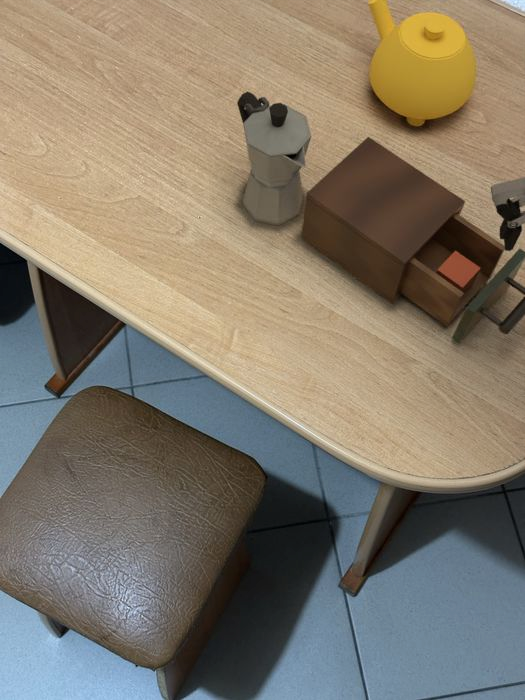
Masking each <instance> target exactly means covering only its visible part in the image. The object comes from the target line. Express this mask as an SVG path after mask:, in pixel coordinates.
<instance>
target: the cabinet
mask: <svg viewBox="0 0 525 700" xmlns="http://www.w3.org/2000/svg"><path fill="white" fill-rule="evenodd" d="M304 203H305V204H304V211H303V221H302V229H301V239H302V240H304V241H305V242H307V243H308V244H310V245H311V246H312V247H314V248H315V249H316V250H318V251H319V252H320V253H322V254H323V255H325V256H326V257H328V258H329V259H330V260H332V261H333V262H334V263H336V264H337V265H338V266H340V267H341V268H343V269H344V270H345V271H346V272H348V273H349V274H351V275H352V276H353V277H355V278H356V279H358V280H359V281H360V282H362V283H363V284H364V285H366V287H368V288H370V289H371V290H372V291H374V292H375V293H376V294H378V295H379V296H381V297H382V298H383V299H384V300H386V301H388V302H389V303H390V304H391V305H393V304H394V303H395V302H396V301H397V299H399V298H400V296H401V295H403V294H402V293H401V292H399V289H400V286H401V283H402V280H403V277H404V274H405V271H406V268H407V265H408V263H409V261H410V260H411V259H412V258H413V257H414V256H415V255H416V254H417V253H418V252H419V251H420V250H421V249H422V248H423V247H424V246H425V245H426V244H427V243H428V242H429V241H430V240H431V239H432V238H433V237H434V236H435V235H436V234H437V233H438V231H439V230H440V229H441V228H442V227H443V226H444V225H445V224H446V223H447V222H448V221H449V220H450V219H451V218H452V217H453V216H454V215H455V214H456V213H457V214H458V215H460V216H461V214H462V211H463V209H464V207H465V206H464V205H465V203H466V201H465V199H463V198H461V197H460V196H458V195H457V194H455V193H454V192H452V191H450V190H449V189H447V188H446V187H445V186H443V185H442V184H440V183H438V181H436V180H434V178H432V177H430V176H428V175H427V174H425V173H424V172H422V171H421V170H420V169H418V168H416V167H415V166H413V165H412V164H411V163H409V162H407V161H405V159H403V158H401V157H400V156H398V155H397V154H396V153H394V152H393V151H390V150H389V149H388V148H386V147H385V146H384V145H382V144H381V143H379V142H377V141H376V140H374V139H373V138H372V137H370V136H367V137H366V138H365V139H364V140H362V142H361V143H359V144H358V145H357V146H356V147H355V148H354V149H353V150H352V151H351V152H350V153H349V154H348V155H347V156H346V157H344V158H343V159H342V160H341V161H340V162H339V163H338V164H337V165H336V166H334V167H333V168H332V169H331V170H330V171H329V172H328V173H326V175H325V176H323V177H322V178H321V179H320V180H319V181H318V182H317V183H316V184H314V186H313V187H312V188H311V189H309V190H308V191H307V192H306V197H305V202H304Z"/></svg>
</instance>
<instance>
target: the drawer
mask: <svg viewBox="0 0 525 700" xmlns="http://www.w3.org/2000/svg"><path fill="white" fill-rule="evenodd" d="M454 251H457V252H458V253H460V254H461V255H463V256H464V257H466V258H467V259H468V260H470V261H471V262H473V263H474V264H476V265H477V266H479V267H480V268H481V269H480V271H479V273H478V275H477V277H476V279H475V281H474V284H473V285H472V286H471V287H470V288H469V290H468V291H467V292H466V293H465V294H464V293H463V292H462V291H460V290H459V289H458V288H456V287H455V286H453V285H452V284H450V283H449V282H448V281H446V280H445V279H443V278H442V277H441V276H439V275H438V274H436V272H437V269H438V268H439V267H440V266H441V265H442V264H443V263H444V262H445V261H446V260H447V259H448V258H449V257H450V256H451V255H452V253H453V252H454ZM504 252H505V244H504V243H501V242H500V241H498V240H497V239H495V238H494V237H492V236H491V235H489V234H488V233H486V232H485V231H484V230H483V229H481V228H479V227H478V226H476V225H474V224H473V223H472V222H470V221H468V220H467V219H465V218H464V217H463V216H461V214H460V215H458V214H457V213H456V214H455V215H454V216H453V217H452V218H451V219H450V220H449V221H448V222H447V223H446V224H445V225H444V226H443V227H442V228H441V229H440V230H439V231H438V233H437V234H436V235H435V236H434V237H433V238H432V239H431V240H430V241H429V242H428V243H427V244H426V245H425V246H424V247H423V248H422V249H421V250H420V251H419V252H418V253H417V254H416V255H415V256H414V257H413V258H412V259H411V260H410V261H409V263H408V265H407V268H406V271H405V274H404V277H403V280H402V283H401V286H400V289H399V292H401V293H402V294H401V295H403V296H404V297H406V298H408V299H409V300H411V301H412V302H413V303H414V304H416V305H417V306H418V307H420V308H421V309H423V310H424V311H425V312H427V313H428V314H429V315H431V316H432V317H434V318H435V319H437V321H439V322H440V323H442V324H443V325H445V326H446V327H448V326H449V325H450V324H451V323H452V322H453V321H454V319H456V317H457V316H458V315H459V314H460V313H461V312H462V310H464V308H465V307H466V308H465V310H464V312H463V313H462V316H461V318H460V321H459V322H458V325H457V327H456V329H455V331H454V333H453V334H452V337H451V339H452V340H454V341H455V342H457V343H458V344H461V342H462V341H464V339H465V338H466V337H467V336H468V335H469V333H470V332H471V331H472V330H473V329H474V328H475V326H476V325H477V324H478V323H479V322H480V321H481V320H482V319H483V318H486V319H488V320H489V321H490V322H492V323H493V324H495V325H496V326H497V328H498V331H499V332H500V333H501V334H504V335H509V334H510V333H511V332H512V330H513V329H514V328H515V327H516V326H517V325H518V323H519V322H520V321H521V320H522V319H523V318H524V317H525V286H523V285H522V284H521V283H519V282H518V281H516V280H515V278H516V276H517V274H518V272H519V270H520V269H521V267H522V265H523V263H524V261H525V250H524V249H522V248H518V249H517V250H516V251H515V252H514V254H513V255H512V256H511V257H510V258H509V259H508V260H507V261H506V263H505V264H504V265H503V266H502V267H501V268H500V270H498V272H497V273H496V274H495V275H494V276H493V274H494V273H495V270H496V268H497V266H498V264H499V262H500V260H501V258H502V256H503V254H504ZM492 276H493V277H492ZM487 282H488V283H487ZM510 287H512V288H513V289H515V290H516V291H518V292H520V293H521V294H522V295H523V298H521V300H520V301H519V302H518V304H516V305H515V307H514V308H513V309H512V310H511V311H510V312H509V314H508V315H507V316H506V317H505V318H504V319H503V320H501V319H500V318H498V317H497V316H496V315H494V314H493V313H492V312H490V310H491V309H492V308H493V306H494V305H495V304H496V303H497V302H498V301H499V300H500V298H501V297H502V296H503V295H504V293H506V292H507V290H508V289H509V288H510ZM481 289H482V290H481ZM479 291H480V292H479ZM478 292H479V293H478ZM471 300H472V301H471Z"/></svg>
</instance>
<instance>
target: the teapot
mask: <svg viewBox="0 0 525 700" xmlns="http://www.w3.org/2000/svg"><path fill="white" fill-rule="evenodd" d="M387 2H388V1H387V0H369V1H368V2H367V5H368V7H369V10H370V13H371V15H372V18H373V22H374V24H375V27H376V30H377V33H378V36H379V38H380V41H381V42H380V43H379V44H378V46H377V48H376V49H375V52H374V54H373V56H372V58H371V61H370V65H369V69H368V70H369V71H368V74H369V81H370V82H369V83H370V85H371V87H372V90H373V92H374V93H375V95H376V96H377V98H378V99H379V100H380V101H381V103H383V104H384V105H385V106H387V107H388V108H389V109H390V110H391V111H393V112H395V113H397V114H399V115H400V116H403V117H406V122H407V123H408V124H409V125H410V126H413V127H420V126H423V125H424V124H425V122H426V120H432V119H438V118H443V117H446V116H447V115H448V116H449V115H451V114H453V113H454V112H456V111H458V110H459V109H460V108H461V107H463V106H464V105H465V104H466V103H467V102H468V100H469V99H470V98H471V96H472V94H473V92H474V89H475V84H476V78H477V63H476V57H475V52H474V50H473V49H474V48H473V47H472V45H471V42H470V40H469V38H468V36H467V33H466V32H465V30H464V29H463V28H462V26H461V25H460V23H458V22H457V21H456V20H454V19H452V18H451V17H449V16H447V15H445V14H442V13H439V12H431V11H430V12H429V11H427V12H419V13H416V14H413V15H410V16H409V17H407V18H406V19H404V20H402V21H401V22H399V24H397V25H396V24H395V22H394V19H393V17H392V14H391V11H390V8H389V5H388V3H387Z"/></svg>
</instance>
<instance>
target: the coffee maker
mask: <svg viewBox="0 0 525 700" xmlns="http://www.w3.org/2000/svg"><path fill="white" fill-rule="evenodd" d="M236 105H237V108H238V112H239V115H240V118H241V121H242V126H243V133H244V137H245V144H246V149H247V156H248V160H249V162H250V172H249V175H248V179H247V184H246V187H245V191H244V195H243V199H242V204H241V205H242V206H243V208H244V209H245V210H246V211H247V213H248V214H249V216H250V217H251V219H252V220H253V221H254V222H258V223H262V224H263V223H264V224H268V225H273V226H277V227H278V226H281V225H283V224H284V223H286V222H289V221H290V220H292V219H294V218H296V217H298V216H299V214H300V212H301V211H300V210H301V205H302V202H303V198H304V195H303V186H302V180H301V172H300V170H301V169H302V168H306V167H307V163H306V155H307V152H308V148H309V146H310V142H311V139H312V133H311V129H310V124H309V122H308V118H307V115H306V114H304V113H301V112H299V110H297V109H295V108H293V107H291V106H289V105H287V104H285V103H282V102H276V103H273V104H271V105H270V102H269V100H268V99H267V98H266V97H265V96H261V97H258V98H257V96H256V95H255V94H253V93H252V92H250V91H246V92H244V93H242V94H241V95H240V96H239V98H238V99H237V102H236Z"/></svg>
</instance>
